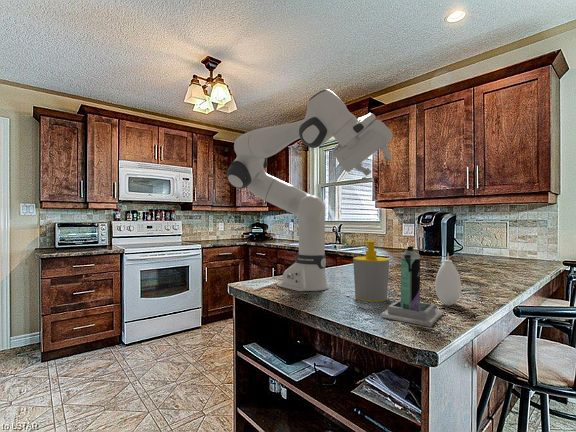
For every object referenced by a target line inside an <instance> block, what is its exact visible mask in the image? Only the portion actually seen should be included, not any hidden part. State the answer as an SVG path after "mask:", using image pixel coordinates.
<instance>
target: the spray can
mask: <svg viewBox="0 0 576 432" xmlns="http://www.w3.org/2000/svg"><path fill="white" fill-rule="evenodd" d="M400 299H401V308H407V309H412V310H418V311H420V302H421V254H419V253H417V251H416V250H415V249H414V246H407V248H406V250H405V251H404V252H402V253H401V254H400Z"/></svg>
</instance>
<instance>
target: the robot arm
mask: <svg viewBox="0 0 576 432" xmlns="http://www.w3.org/2000/svg"><path fill="white" fill-rule="evenodd" d="M306 106H307V108H306V114H305V116H304V118H303V119H300V120H295V121H293V122H289V123H285V124H284V123H283V124H278V125H273V126H267V127H261V128H260V127H259V128H257V129H256V128H255V129H252V130H250V131H246V132H245V133H243V134H241V135H240V136H238V137H237V138H236V139H235V140H234V144H233V150H234V153H235V154H236V158H234V160H233V161H232V162H231V163H230V165H229V167H228V169H227V171H226V179H227V181H228V183H229V185H231V186H232V187H234V188H236V189H241V190H242V189H246V188H247V189H248V191H249V192H250V193H252V194H253V195H255V196H256V197H258V198H259V199H260V200H263V201H265V202H267V203H269V204H271V205H273V206H275V207H277V208H279V209H281V210H283V211H286V212H288V213H290V214H292V215H295V216H297V223H298V224H297V226H298V229H297V230H298V254H296V255H293V259H295V261H294V263H293V264H291V265H290V266H288V268H287V269H285V270H284V271H283V273H282V276H281V277H282V278H281V279H282V280H281V281H278V282H277V283H276V286H277V287H281V288H284V289H288V290H291V291H292V290H293V291H297V292H309V291H310V292H318V291H324V290H328V289H329V284H328V281H327V274H326V273H327V272H326V264H327V263H326V262H327V258H326V257H327V256H326V254H325V253H326V252H325V251H326V250H325V249H326V248H325V247H326V245H325V243H326V241H325V239H326V238H325V237H326V235H325V233H326V232H325V231H326V230H325V229H326V227H325V226H326V224H325V221H326V219H325V217H326V216H325V215H326V207H325V203H324V201H323V200H322V199H321V198H320V197H319V196H318V195H314V194H310V193H308V192H306V191H304V190H302V189H300V188H298V187H296V186H294V185H292V184H290V183H288V182H285V181H284V180H281V179H280V178H277V177H275V176H273V175H271V174H268V173H267V172H266V170H265V169H266V168H268V158H270V157H272V156H274V155H276V154H277V153H280V152H281V151H282V150H283V149H285V148H286V147H288V146H289V145H290V144H292V143H293V142H295V141H297V140H299V139H300V140H301V142H302V143H303V144H304V145H305V146H307V147H308V148H311V149H316V148H318V147H321V146H323V145H324V144H325V143H326V142H328V141H329V140H330V139H331V138H334V139H335V140H336V142H338V144H337V145H336V146H335V147H333V150H332V152H333V153H332V155H333V156H334V158H335V159H336V160H337V162H338V163H339V165H340V166H341V168H342V169H343V170H344V171H345V172H347V173H348V172H351V171H352V170H353V169H355V170H356V171H358V172H360V173H363V175H364V176H365V177H367V176H369V175H370V174H371V173H372V170H370V168H369V167H367V168H366V167H363V164H362V163H363V162H365V160H367V159H368V158H369V157H371V156H372V155H373V154H374V153H376V152H378V151H379V150H380V151H381V152H383V154H384V156H383V159H384V160H385V162H389V161H391V160H392V159H393V156H392V154H391V153H390V149H389V145H388V143H389V142H390V141H392V139H393V136H394V135H393V132H392V130H391V129H390V128H389V127H388V126H387V125H386V124H385V123H384V122H383V121H381V120H380V119H376V117H377V116H376V115H375V114H374V113H371V112H369V113H368V114H366V115H363V116H360V117H358V118H357V117H356V115H354V113H352V112H351V111H350V110H349V109H348V108H347V105H346V103H344V102H343V100H342V99H340V97H339V96H338V95H336V93H335V92H333V91H332V90H330V89H328V88H324V89H322V90H320V91H318V92H317V93H315V94H313V95H312V96H311V97H310V98H309V100H307V105H306Z"/></svg>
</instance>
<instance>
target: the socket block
mask: <svg viewBox="0 0 576 432" xmlns="http://www.w3.org/2000/svg"><path fill="white" fill-rule="evenodd" d="M436 306H437V305H436V304H435V303H429V302H428V303H427V302H423V301H422V302H421V301H420V311H418V310H412V309H407V308H401V298H399V299H397V300H396V301H394V302H392V303H391V304H389V305H388V306H387V309H385V310H384V311H382V312H381V313H380V317H381V318H384V319H389V320H395V321H399V322H403V323H404V322H405V323H408V324H409V323H410V324H414V325H419V326H420V325H421V326H425V327H432V326H433V325H434V324H435V323H436V321H438V320H439V319H440V318H441V317H442V315H443V310H439V309H437V307H436Z"/></svg>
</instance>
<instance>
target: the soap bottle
mask: <svg viewBox="0 0 576 432" xmlns="http://www.w3.org/2000/svg"><path fill="white" fill-rule="evenodd" d="M361 244H367V250H365V256H354V257H353V258H352V261H353V279H354V297H355V299H357V300H359V301H364V302H376V303H378V302H384V301H387V299H388V288H389V287H388V286H389V285H388V284H389V271H390V269H389V268H390V258H387V257H383V256H382V257H380V256H377V250H375V244H377V241H375V240H366V241H362V242H361Z"/></svg>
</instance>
